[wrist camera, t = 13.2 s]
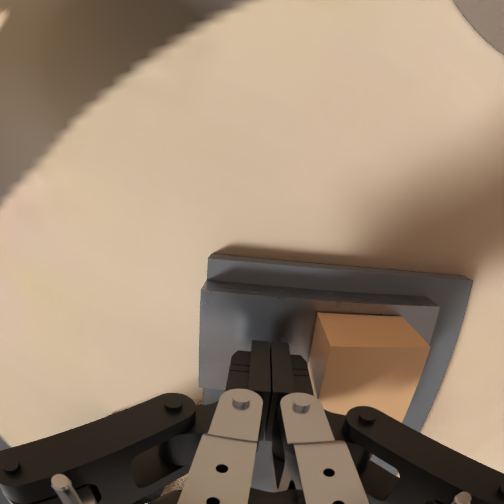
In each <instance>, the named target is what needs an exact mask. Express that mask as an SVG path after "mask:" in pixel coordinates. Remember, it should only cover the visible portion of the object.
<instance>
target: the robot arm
mask: <svg viewBox="0 0 504 504" xmlns="http://www.w3.org/2000/svg"><path fill="white" fill-rule="evenodd" d="M454 2H455V4H456V6H457V7H458V8H459V10H460V11H461V12H462V14H463V15H464V17H465V18H466V19H467V20H468V21H469V23H470V24H471V25H472V26H473V27H474V29H475V30H476V31H477V32H478V33H479V34H480V35H481V36H482V37H483V38H484V39H485V40H486V41H487V42H488V43H490V44H491V45H492V46H493V47H494V48H496V49H497V50H498V51H500V52H501V53H503V54H504V0H454ZM264 432H265V441H272V450H271V455H270V461H271V469H272V478H273V486H274V492H267V491H263V490H259V489H255V488H251V487H250V486H251V480H252V473H253V467H254V461H255V454H256V452H257V451H258V447H259V440H260V441H263V438H264ZM372 455H375V456H376V457H378V458H379V459H381V460H383V461H384V462H386V463H387V464H389V465H391V466H392V467H394V468H396V469H397V470H398V472H399V474H400V478H399V477H397V476H395V475H393V474H392V473H390V472H389V471H387V470H385V469H384V468H382V467H381V466H379V465H377V464H376V463H374V462H373V461H371V460H370V459H371V457H372ZM187 473H188V476H187V479H186V481H185V484H184V487H183V489H182V490H177V491H173V492H170V493H167V494H165V495H163V496H160V497H158V498H157V499H155V500H153V501H151V502H150V503H148V504H504V474H503V473H501V472H499V471H497V470H494V469H492V468H490V467H488V466H486V465H483V464H481V463H479V462H477V461H475V460H473V459H471V458H469V457H467V456H464V455H462V454H460V453H458V452H456V451H454V450H452V449H450V448H448V447H446V446H444V445H442V444H440V443H439V442H437V441H435V440H433V439H431V438H429V437H427V436H425V435H423V434H421V433H419V432H418V431H416V430H414V429H412V428H410V427H408V426H406V425H405V424H403V423H401V422H399V421H397V420H395V419H394V418H392V417H390V416H388V415H387V414H385V413H383V412H381V411H379V410H378V409H376V408H373V407H369V406H357V407H354V408H352V409H350V410H349V411H348V412H347V414H346V415H342V414H337V413H332V412H329V411H327V410H325V409H323V406H322V403H321V402H320V400H319V399H317V398H316V397H314V393H313V388H312V384H311V379H310V375H309V371H308V366H307V362H306V361H305V359H304V358H303V357H302V356H301V355H292V354H290V350H289V343H286V342H272V341H271V342H269V341H260V340H252V344H251V351H241V350H238V351H237V352H235V353H234V354H233V355H232V357H231V362H230V367H229V373H228V378H227V383H226V389H225V392H224V393H223V394H222V395H221V397H220V399H219V401H217V402H215V403H212V404H207V405H195V403H194V401H193V400H192V399H191V398H189V397H188V396H186V395H183V394H179V393H166V394H162V395H160V396H157V397H155V398H153V399H150V400H148V401H145V402H143V403H140V404H138V405H136V406H133V407H131V408H128V409H125V410H123V411H120V412H118V413H115V414H113V415H110V416H107V417H105V418H102V419H99V420H97V421H94V422H91V423H88V424H85V425H83V426H80V427H77V428H74V429H71V430H68V431H65V432H62V433H59V434H56V435H53V436H50V437H47V438H43V439H40V440H37V441H33V442H30V443H27V444H23V445H20V446H16V447H12V448H9V449H6V450H2V451H0V488H1V489H2V491H3V494H4V495H5V497H6V498H7V499H8V501H9V502H10V503H11V504H131V503H133V502H136V501H138V500H140V499H141V498H143V497H145V496H147V495H149V494H151V493H153V492H155V491H157V490H159V489H161V488H162V487H164V486H166V485H168V484H170V483H171V482H173V481H175V480H177V479H178V478H180V477H182V476H184V475H185V474H187Z"/></svg>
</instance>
